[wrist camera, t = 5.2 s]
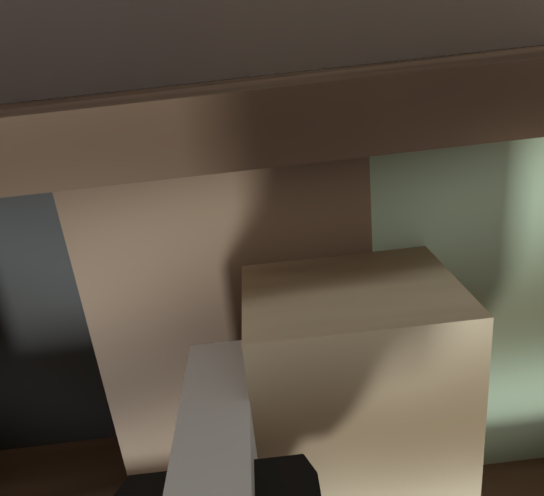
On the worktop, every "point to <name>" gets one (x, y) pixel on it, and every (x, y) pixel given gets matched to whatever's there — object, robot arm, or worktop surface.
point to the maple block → (369, 371)
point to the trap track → (253, 241)
